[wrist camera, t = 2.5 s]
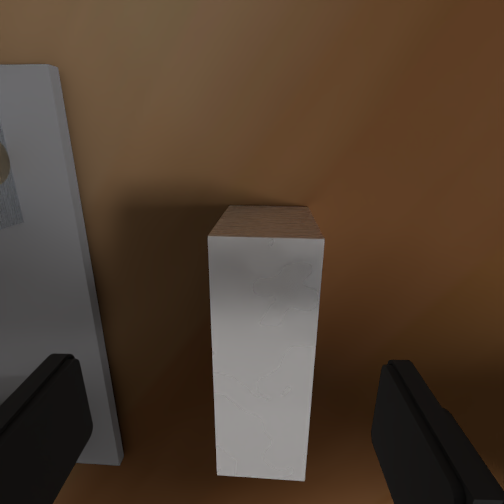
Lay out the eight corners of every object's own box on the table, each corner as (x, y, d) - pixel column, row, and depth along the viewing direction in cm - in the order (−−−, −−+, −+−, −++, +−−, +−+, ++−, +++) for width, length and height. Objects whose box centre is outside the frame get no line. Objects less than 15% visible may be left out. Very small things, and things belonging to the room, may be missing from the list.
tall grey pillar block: (308, 206, 14) (324, 239, 10) (296, 389, 18) (304, 481, 13) (229, 205, 15) (207, 236, 10) (232, 386, 18) (217, 475, 13)
